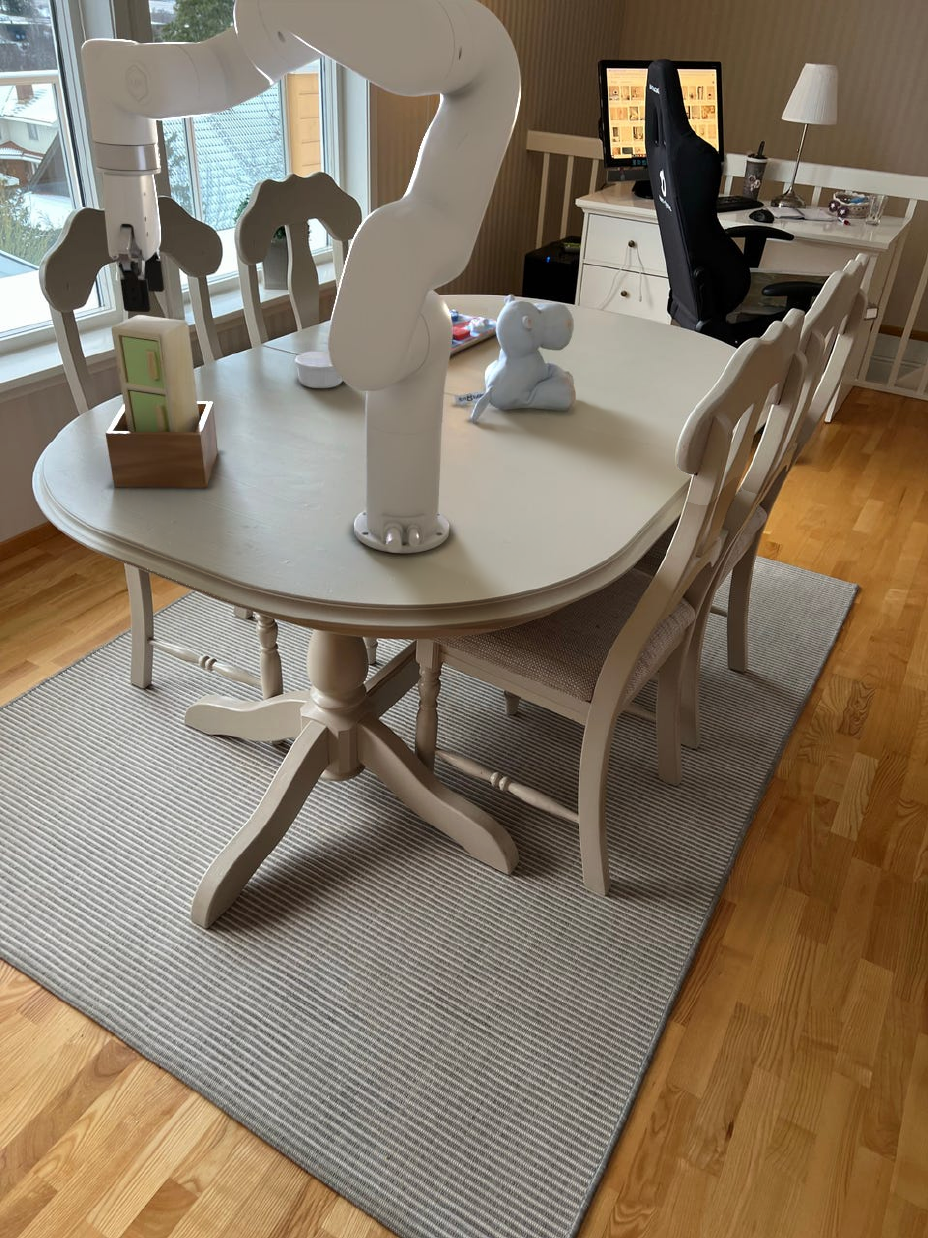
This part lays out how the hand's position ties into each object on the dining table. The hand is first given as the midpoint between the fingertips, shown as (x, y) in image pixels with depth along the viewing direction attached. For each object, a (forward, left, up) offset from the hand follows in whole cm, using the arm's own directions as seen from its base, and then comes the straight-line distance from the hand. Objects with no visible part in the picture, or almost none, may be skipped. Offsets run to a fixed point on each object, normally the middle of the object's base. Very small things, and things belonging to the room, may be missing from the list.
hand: (145, 300), depth 124 cm
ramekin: (+39, -21, -24) cm, 50 cm away
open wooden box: (0, 0, -24) cm, 24 cm away
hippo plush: (+29, -56, -24) cm, 67 cm away
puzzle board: (+69, -42, -24) cm, 84 cm away
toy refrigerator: (0, 0, -24) cm, 24 cm away
